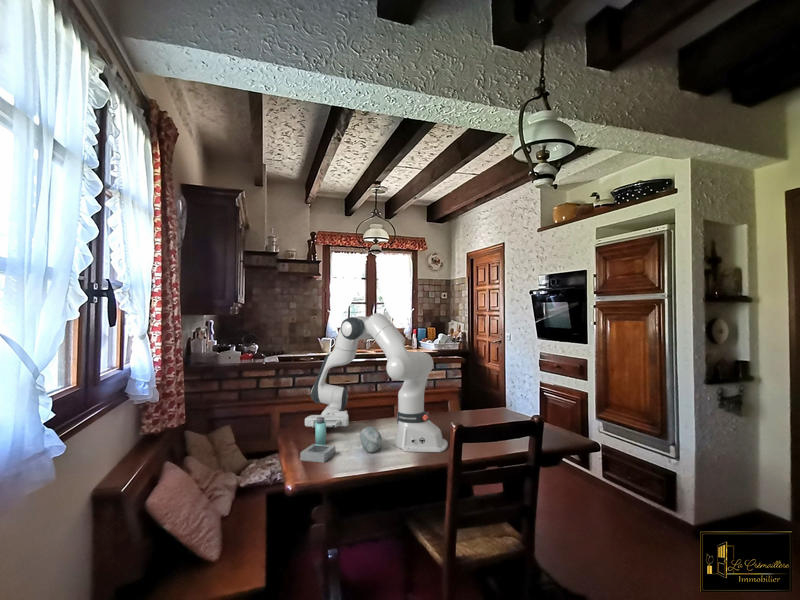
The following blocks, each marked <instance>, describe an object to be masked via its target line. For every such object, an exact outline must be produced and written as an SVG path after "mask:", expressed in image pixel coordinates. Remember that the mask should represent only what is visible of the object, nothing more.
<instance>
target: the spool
mask: <svg viewBox="0 0 800 600" xmlns="http://www.w3.org/2000/svg"><path fill="white" fill-rule="evenodd" d="M359 438H360V442H361V445H362V447H363V449H364V450H365V451H366V452H368V453H371V454H372V453H375V452H376V451H378V450H379V449H380V448H381V447H382V445H383V438H382V435H381V433H380V431H379V430H377V429H376V427H374V426H367V427H365V428H363V429H362V430H361V432H360V436H359Z"/></svg>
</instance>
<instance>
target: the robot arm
mask: <svg viewBox="0 0 800 600" xmlns="http://www.w3.org/2000/svg"><path fill="white" fill-rule="evenodd" d="M369 339H373V340H374V341H375V342H376V344H377V345H378V346H379V348H380V349H381V350H382V352H383V354H384V355H385V357H386V361H387V362H386V374H387V375H388V377H390V379H392V380H395V381H403V383H402V386H401V388H400V389H399V390H398V394H397V399H398V400H397V409H398V410H397V412H396V423H397V424H396V425H397V431H396V436H395V440H394V446H395V447H397V448H399V449H401V450H402V451H403V452H406V453H407V452H410V453H412V452H415V453H417V452H419V453H443V452H444V451H445V450H447V448H448V446H449V445H448V441H447V440H446V439H445V438H443V433H442V430H441V429H440V428H439V427H438V426H437V425H436V424H434V423H433V422H432V421H431V420H429V419H430V414H429V412H430V411H428V412H427V411H426V410H425V407H424V406H425V389H426V385H427V381H428V378H429V376H430V373H431V372H432V370H433V368H434V359H433V358H432V356H431V355H430V353H427V352H424V351H414V352H413V351H411V352H410V351H408V350H407V348H406V346H405V343H406V338H405V337H404V336H403V335H402V333H401V332H400V331H399V329H398V328H397V327H396V326H395V325H394V323H393V322H392V321H391V320H390V319H389V318H388V317H386V316H385V315H384V314H383V313H381V312H376V313H373V314H371V315H370V316H362V315H360V316H351V317H347V318H345V319H343V321H342V322H341V325H340V328H339V330H338V333H337V335H336V339H335V342H334V347H333V350H332V351H331V352H329V353H326V354H327V355H325V357H324V360H323V361H322V363H321V367H320V370H319V372H318V374H317V377H316V379H315V382H314V384H313V386H312V388H311V390H310V398H311V400H312V401H313V402H314V403H315V404H316V403H319V404H324V405H325V404H326V405H327V406H325V408H324V409H323V411H322V412H321V414H310V415H309V416H306V417H305V418H304V426H305V427H307V428H308V427H311V428H315V423H316V422H317V418H318V417H324V421H325V422H326V428H338V427H348V426H349V425H350V424H349V423H350V422H349V421H350V420H349V414H348V412H349V411H348V410H345V409H346V407H347V405H348V400H349V392H348V391H347V389H346V387H344V386H338V385H332V384H328V383H326V382H325V381H326V378H327V375H328V372H329V370H330V369H331V368H334V367H339V366H340V367H341V366H345V365H348V364H350V363H351V362H354V359H355V358H356V353H357V350H358V344H359V341H360V340H362V341H363V340H369Z"/></svg>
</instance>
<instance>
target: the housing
mask: <svg viewBox="0 0 800 600" xmlns="http://www.w3.org/2000/svg"><path fill="white" fill-rule="evenodd" d="M299 455H300V457H299V460H300V461H302V462H303V461H304V462H315V463H326V462H327V461H328V460H329V459H331V458H332V457H333V456H334V455H336V445H332V444H331V445H330V444H325V445H321V444H315V443H312V444H310V445H309V446H307V447H306V448H305V449H303V450H302V451H301V452H300V454H299Z"/></svg>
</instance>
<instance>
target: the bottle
mask: <svg viewBox="0 0 800 600" xmlns="http://www.w3.org/2000/svg"><path fill="white" fill-rule="evenodd" d="M314 428H315V429H314V431H315V434H314V435H315V443H314V444H321V445H327V427H326V422H325V421H324V417H318V418H317V422H316V423H315V427H314Z"/></svg>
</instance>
